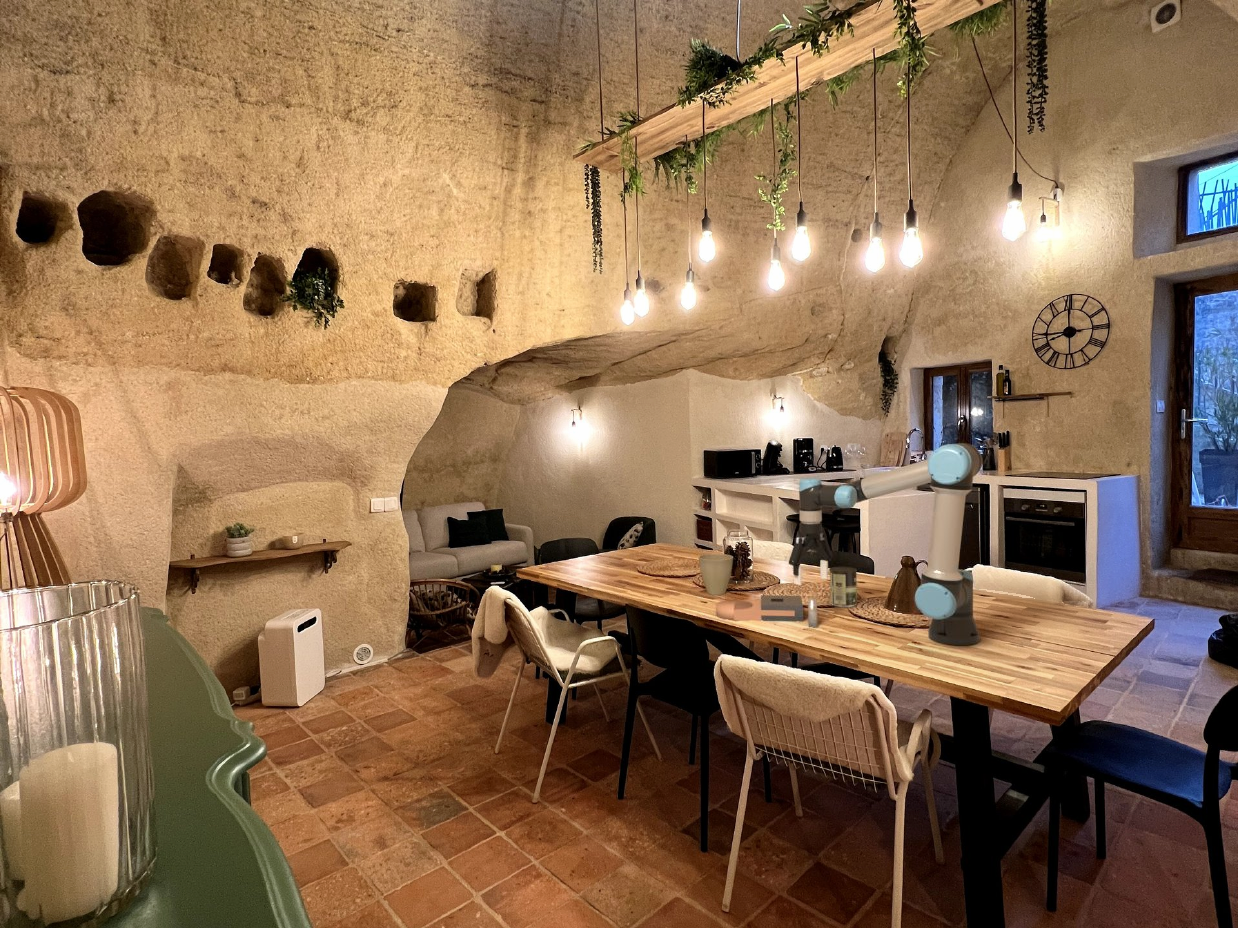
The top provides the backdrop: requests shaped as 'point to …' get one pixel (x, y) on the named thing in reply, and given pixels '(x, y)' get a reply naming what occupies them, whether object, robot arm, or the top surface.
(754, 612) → the knuckle link
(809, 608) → the steel pin
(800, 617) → the clevis fork
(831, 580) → the coffee can
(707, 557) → the plant pot
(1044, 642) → the top surface
